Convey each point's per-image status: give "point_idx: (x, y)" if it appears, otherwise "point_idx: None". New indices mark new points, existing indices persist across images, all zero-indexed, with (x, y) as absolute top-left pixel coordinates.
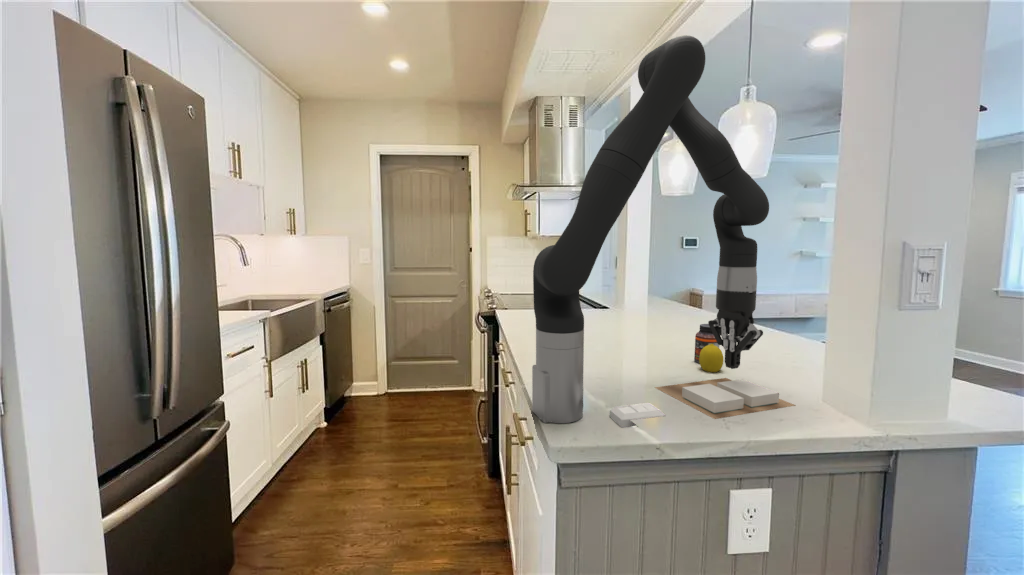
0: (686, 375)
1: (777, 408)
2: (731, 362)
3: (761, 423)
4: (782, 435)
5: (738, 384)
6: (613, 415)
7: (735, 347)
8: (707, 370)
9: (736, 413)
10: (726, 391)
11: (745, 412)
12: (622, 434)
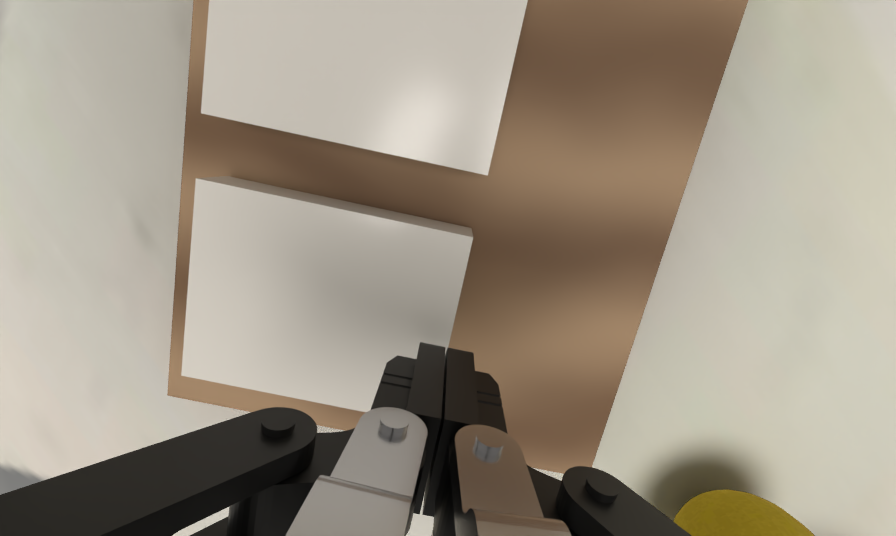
0: (782, 397)
1: (175, 286)
2: (415, 365)
3: (147, 108)
4: (15, 60)
5: (381, 317)
6: None
7: (345, 451)
8: (714, 491)
9: None
10: (333, 132)
11: (200, 87)
12: None
